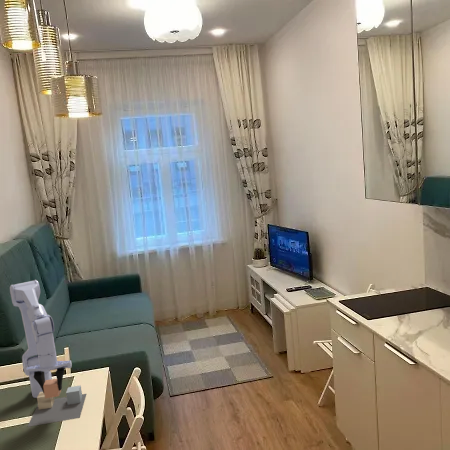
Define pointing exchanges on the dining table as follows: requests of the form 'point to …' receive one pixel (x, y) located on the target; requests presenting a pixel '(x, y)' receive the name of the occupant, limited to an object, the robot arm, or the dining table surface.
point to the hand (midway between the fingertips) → (52, 390)
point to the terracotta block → (51, 388)
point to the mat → (57, 412)
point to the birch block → (44, 401)
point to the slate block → (74, 395)
